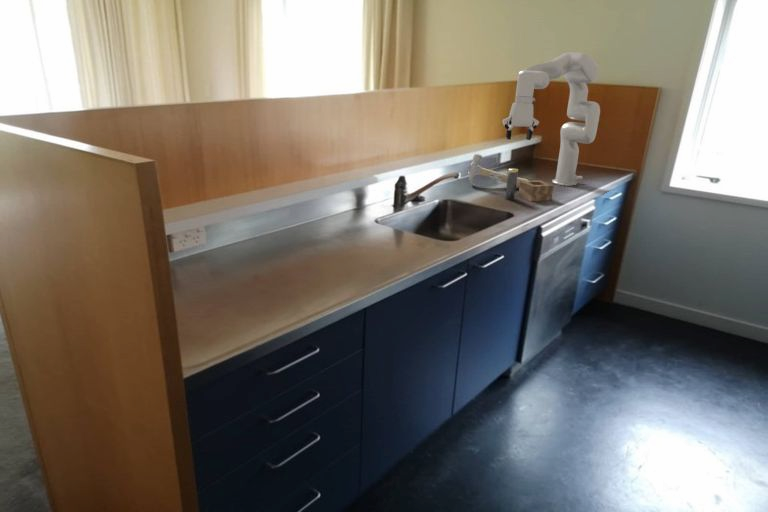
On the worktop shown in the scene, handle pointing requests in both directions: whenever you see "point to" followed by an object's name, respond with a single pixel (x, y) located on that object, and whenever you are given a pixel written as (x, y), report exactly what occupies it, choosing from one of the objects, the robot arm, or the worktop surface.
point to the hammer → (487, 172)
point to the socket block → (535, 190)
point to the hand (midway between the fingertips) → (518, 139)
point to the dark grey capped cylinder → (511, 184)
